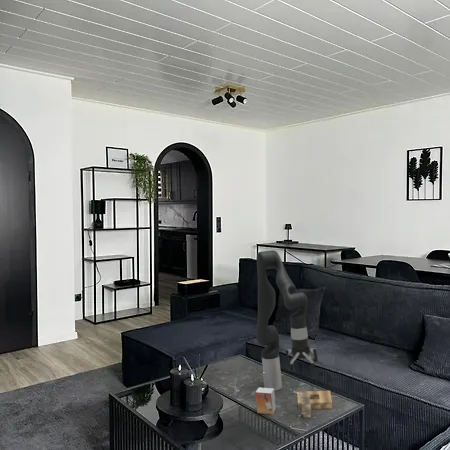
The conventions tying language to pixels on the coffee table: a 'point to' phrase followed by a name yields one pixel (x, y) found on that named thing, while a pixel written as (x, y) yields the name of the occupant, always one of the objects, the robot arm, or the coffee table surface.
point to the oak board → (317, 399)
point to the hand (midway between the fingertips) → (302, 370)
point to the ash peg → (306, 405)
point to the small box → (265, 400)
